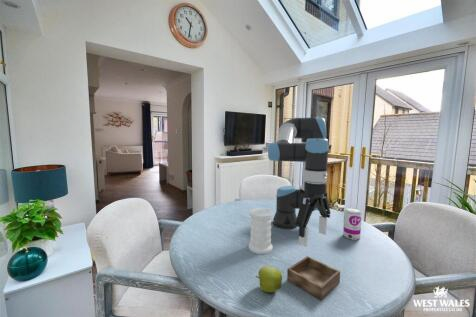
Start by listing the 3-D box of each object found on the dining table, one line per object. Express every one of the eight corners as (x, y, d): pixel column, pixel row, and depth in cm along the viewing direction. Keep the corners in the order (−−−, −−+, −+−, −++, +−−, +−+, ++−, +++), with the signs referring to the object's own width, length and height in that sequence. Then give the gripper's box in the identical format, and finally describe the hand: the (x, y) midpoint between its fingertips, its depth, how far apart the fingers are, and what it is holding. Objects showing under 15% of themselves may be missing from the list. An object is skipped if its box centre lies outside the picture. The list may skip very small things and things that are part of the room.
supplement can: (362, 241, 113) (364, 213, 112) (345, 239, 115) (346, 212, 113) (357, 234, 121) (358, 208, 120) (341, 232, 123) (342, 207, 121)
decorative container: (274, 244, 110) (275, 209, 108) (270, 256, 99) (270, 217, 97) (252, 240, 114) (252, 207, 112) (245, 251, 103) (245, 214, 101)
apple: (255, 281, 81) (255, 261, 80) (279, 282, 81) (280, 262, 80) (256, 297, 74) (256, 275, 73) (283, 297, 73) (284, 275, 72)
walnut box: (287, 280, 82) (287, 268, 82) (307, 266, 91) (307, 256, 91) (320, 300, 72) (321, 287, 72) (339, 282, 81) (340, 271, 80)
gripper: (305, 189, 67) (303, 255, 69) (341, 178, 83) (338, 232, 85) (285, 185, 72) (283, 246, 74) (322, 176, 88) (320, 226, 91)
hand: (313, 238), depth 80 cm, fingers open, 13 cm apart
